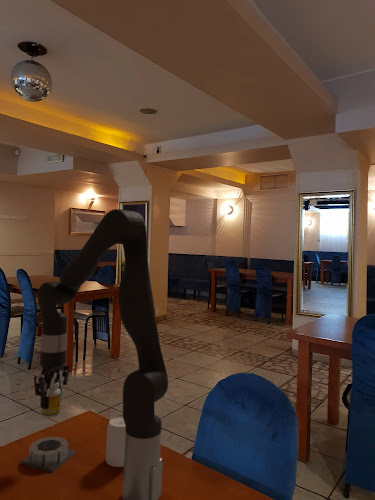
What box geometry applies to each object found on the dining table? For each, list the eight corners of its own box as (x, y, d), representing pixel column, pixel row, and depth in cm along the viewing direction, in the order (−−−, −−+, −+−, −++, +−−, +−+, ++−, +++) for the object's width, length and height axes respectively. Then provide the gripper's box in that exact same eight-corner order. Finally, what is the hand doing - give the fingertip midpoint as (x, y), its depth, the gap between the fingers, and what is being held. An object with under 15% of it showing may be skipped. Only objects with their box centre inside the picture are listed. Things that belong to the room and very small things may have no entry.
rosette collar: (75, 453, 122) (75, 440, 122) (52, 472, 112) (52, 458, 112) (45, 446, 126) (45, 434, 126) (20, 464, 115) (21, 450, 115)
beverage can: (100, 463, 117) (101, 423, 117) (117, 451, 124) (118, 413, 124) (122, 472, 114) (124, 430, 113) (138, 459, 121) (140, 419, 121)
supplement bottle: (42, 411, 121) (43, 379, 121) (60, 410, 122) (62, 379, 122) (39, 418, 115) (41, 386, 115) (59, 417, 117) (60, 385, 116)
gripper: (48, 355, 110) (45, 416, 111) (78, 344, 124) (75, 398, 124) (26, 352, 113) (23, 411, 113) (58, 341, 126) (55, 394, 127)
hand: (51, 404), depth 119 cm, fingers closed on supplement bottle, 5 cm apart
